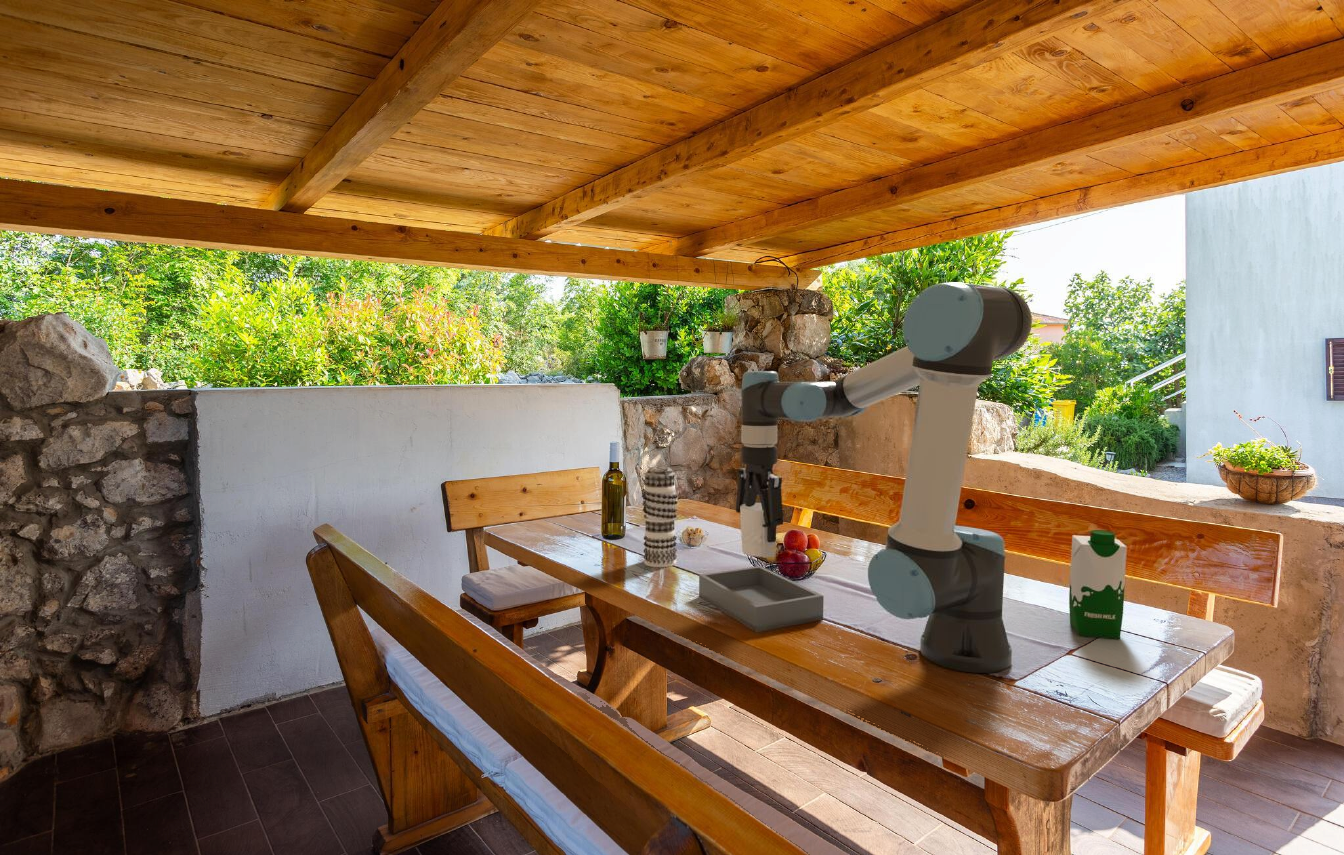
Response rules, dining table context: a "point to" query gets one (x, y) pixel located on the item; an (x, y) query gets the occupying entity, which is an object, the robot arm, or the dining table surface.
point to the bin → (761, 598)
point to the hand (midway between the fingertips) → (758, 551)
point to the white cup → (752, 529)
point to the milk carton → (1097, 584)
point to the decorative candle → (659, 517)
